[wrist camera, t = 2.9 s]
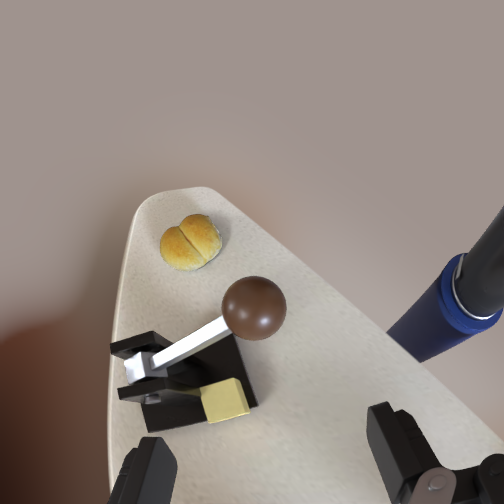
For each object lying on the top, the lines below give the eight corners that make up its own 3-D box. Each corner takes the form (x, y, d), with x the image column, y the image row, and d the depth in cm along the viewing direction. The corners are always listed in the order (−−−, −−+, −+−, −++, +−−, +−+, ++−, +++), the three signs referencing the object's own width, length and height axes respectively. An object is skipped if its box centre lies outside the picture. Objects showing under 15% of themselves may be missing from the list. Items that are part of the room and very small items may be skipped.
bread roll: (157, 245, 44) (146, 230, 40) (206, 215, 45) (198, 198, 42) (178, 285, 40) (167, 272, 36) (232, 251, 41) (226, 235, 38)
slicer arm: (283, 272, 20) (250, 256, 17) (306, 325, 18) (274, 319, 15) (150, 354, 25) (114, 350, 22) (159, 394, 23) (122, 394, 20)
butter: (239, 380, 31) (233, 377, 28) (250, 412, 29) (245, 413, 26) (207, 390, 31) (197, 388, 28) (217, 422, 29) (208, 423, 26)
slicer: (233, 330, 35) (199, 284, 24) (259, 406, 30) (235, 404, 18) (135, 360, 35) (68, 330, 23) (152, 432, 30) (82, 434, 18)
